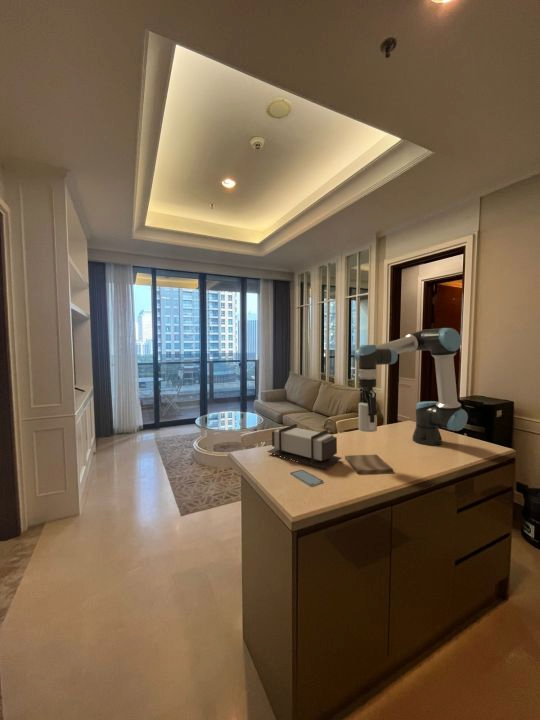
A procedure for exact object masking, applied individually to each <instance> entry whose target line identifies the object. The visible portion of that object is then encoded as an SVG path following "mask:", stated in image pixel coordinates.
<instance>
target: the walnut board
mask: <svg viewBox="0 0 540 720" xmlns="http://www.w3.org/2000/svg"><path fill="white" fill-rule="evenodd" d="M344 459H345V461H346V462H347V463H348V465H350V467H351V468H352V469H353V470H354V471H355V473H356V474H357V475H361V474H362V475H363V474H385V473H387V474H388V473H390V472H391V473H394V468H393V467H392V466H390V465H389V464H388V463H387V462H386V461H385V460H383V459H382V458H381V457H380V456H379V455H378V454H359V455H358V454H357V455H351V454H350V455H345V456H344Z"/></svg>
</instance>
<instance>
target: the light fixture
mask: <svg viewBox="0 0 540 720" xmlns="http://www.w3.org/2000/svg"><path fill="white" fill-rule="evenodd" d="M337 440H338V437H337V436H336V437H335V436H334V434H331V433H329V429H325V430H323V431H317V430H311V429H310V430H309V429H304V428H299V427H298V423H293V424H292V425H287V426H283V427H281V428H278V429H275V430H271V444H272V445H271V446H272V447H273V448H272V449H269V450H267V453H269V454H271V453H272V454H275V455H278V456H281V457H280V458H282V457H285V458H288V459H287V460H289V459H292V460H295V461H294V462H296V461H298V462H297V463H300V462H301V463H300V464H303V465H307V466H310V467H313V468H318V469H322V470H325V471H326V469H328V468H330V467H332V466H333V465H334V464H336V463H337V462H338V461H340V460H341V459H342V457H341V456H337V455H336V454H338V449H337V448H338V446H337V445H338V444H337V443H338V441H337ZM275 455H274V456H275ZM278 456H277V457H278ZM285 458H284V459H285ZM292 460H291V461H292Z"/></svg>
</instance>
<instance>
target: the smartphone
mask: <svg viewBox="0 0 540 720" xmlns="http://www.w3.org/2000/svg"><path fill="white" fill-rule="evenodd" d="M290 474H291V475H290ZM289 475H290V476H292V477H293V476H294V478H295V479H297V480H298V481H300V482H302V483H303V484H305V485H307V486H308V487H314V486H317V485H321V484H324V480H323V479H321V478H319V477H317V476H315V475H313V474H312V473H309V472H308V471H306V470H304V469H299V470H294V471H291V472H290V473H289Z"/></svg>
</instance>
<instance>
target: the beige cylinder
mask: <svg viewBox="0 0 540 720" xmlns="http://www.w3.org/2000/svg"><path fill="white" fill-rule="evenodd" d="M376 406H377V407H378V404H377V403H376ZM357 408H358V430H359V431H361V432H365V433H373V432H377V431H378V414H377V415H375V430H368V415H367V414H369V411H368V404H367V403H360V402H358V407H357Z"/></svg>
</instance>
